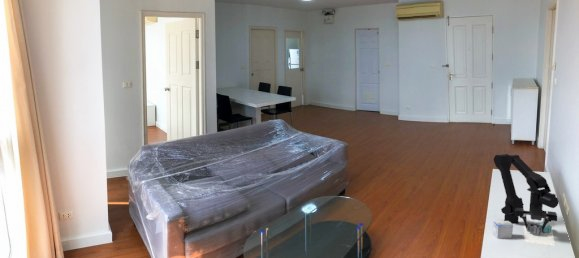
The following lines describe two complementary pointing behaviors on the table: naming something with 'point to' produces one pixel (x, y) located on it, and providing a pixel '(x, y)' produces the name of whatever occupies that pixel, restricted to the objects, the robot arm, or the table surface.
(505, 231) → the medicine box
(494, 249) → the table surface
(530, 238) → the gear board
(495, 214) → the table surface
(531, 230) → the gear
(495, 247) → the table surface
